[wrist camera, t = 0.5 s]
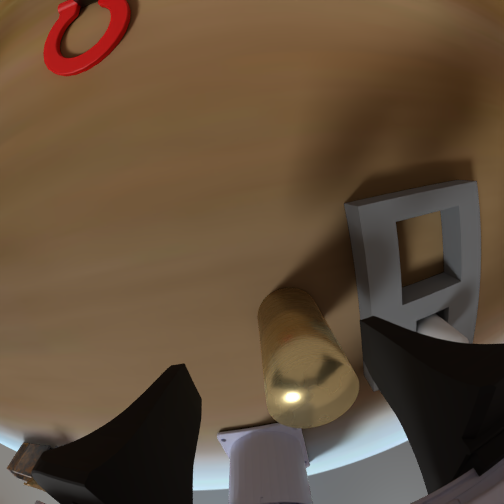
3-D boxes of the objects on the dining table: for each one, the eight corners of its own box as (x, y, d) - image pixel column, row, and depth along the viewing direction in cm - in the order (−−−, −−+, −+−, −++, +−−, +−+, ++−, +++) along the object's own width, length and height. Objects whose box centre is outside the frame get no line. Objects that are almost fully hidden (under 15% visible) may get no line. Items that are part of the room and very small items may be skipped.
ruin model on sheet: (56, 442, 25) (30, 486, 16) (69, 455, 26) (47, 499, 16) (22, 439, 26) (-1, 474, 16) (34, 451, 27) (13, 486, 17)
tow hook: (128, 61, 16) (138, -20, 13) (26, -18, 4) (81, -105, 1) (45, 89, 16) (59, 10, 13) (-66, 65, 3) (-19, -39, 1)
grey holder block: (458, 334, 22) (493, 363, 16) (363, 374, 22) (389, 419, 16) (457, 179, 18) (508, 183, 12) (344, 203, 18) (384, 212, 13)
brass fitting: (320, 332, 21) (360, 413, 12) (265, 346, 21) (276, 435, 12) (311, 280, 20) (357, 349, 11) (251, 296, 20) (256, 375, 11)
